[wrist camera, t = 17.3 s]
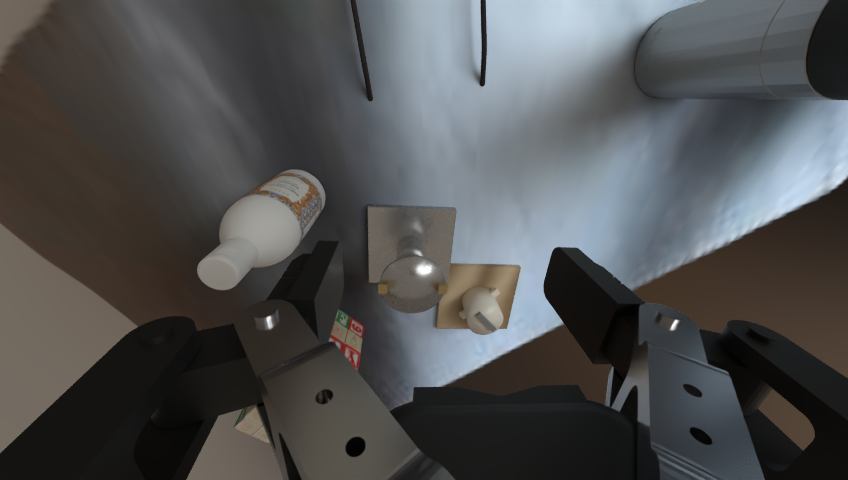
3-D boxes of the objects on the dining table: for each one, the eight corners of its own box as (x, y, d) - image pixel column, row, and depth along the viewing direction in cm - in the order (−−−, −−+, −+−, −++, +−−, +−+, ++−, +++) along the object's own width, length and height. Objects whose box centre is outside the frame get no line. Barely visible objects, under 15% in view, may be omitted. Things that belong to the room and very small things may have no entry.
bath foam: (333, 180, 40) (276, 251, 22) (318, 226, 42) (256, 322, 24) (279, 159, 38) (170, 216, 20) (267, 207, 41) (160, 296, 23)
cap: (505, 296, 49) (517, 319, 44) (469, 321, 50) (477, 346, 45) (486, 276, 47) (496, 298, 42) (450, 302, 49) (455, 326, 44)
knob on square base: (455, 207, 43) (472, 243, 32) (447, 280, 48) (459, 330, 37) (368, 204, 42) (357, 240, 31) (369, 279, 47) (360, 330, 36)
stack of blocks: (287, 392, 56) (259, 465, 45) (257, 376, 54) (220, 449, 43) (365, 325, 51) (355, 390, 40) (335, 304, 48) (316, 367, 37)
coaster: (518, 265, 47) (520, 267, 47) (505, 325, 52) (506, 328, 52) (442, 263, 46) (443, 266, 46) (436, 325, 51) (436, 328, 51)
